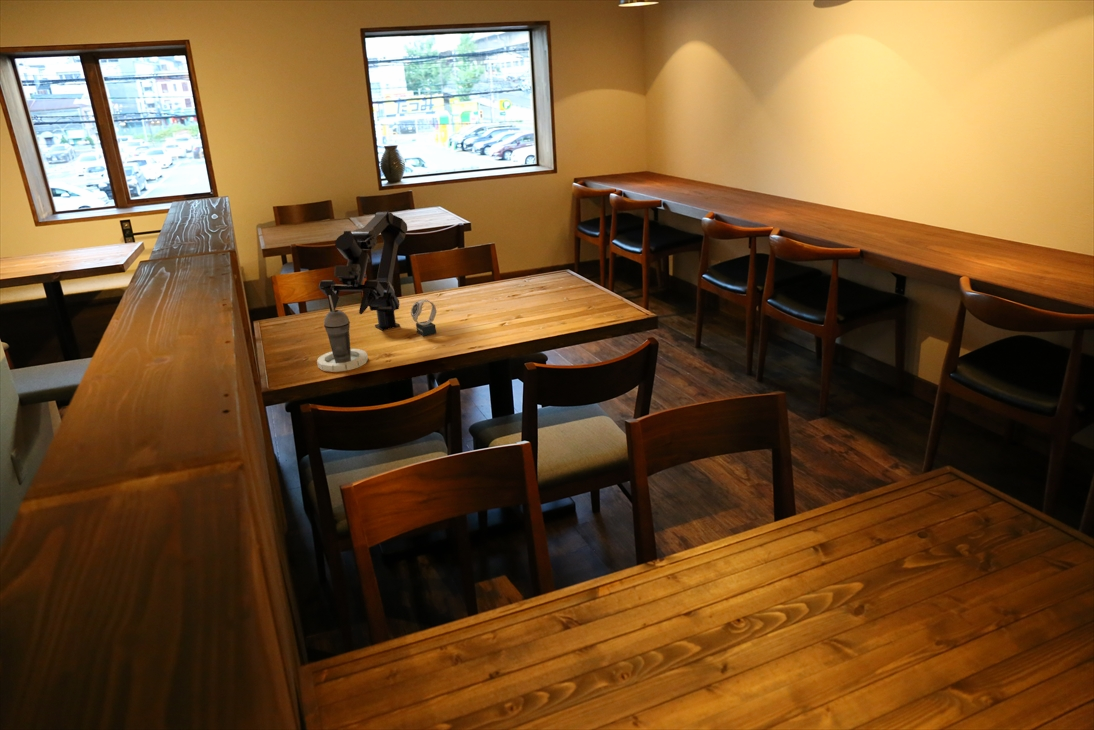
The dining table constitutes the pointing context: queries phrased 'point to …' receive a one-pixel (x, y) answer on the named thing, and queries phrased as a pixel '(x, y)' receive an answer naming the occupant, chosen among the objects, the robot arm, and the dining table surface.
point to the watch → (427, 326)
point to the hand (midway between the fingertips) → (345, 313)
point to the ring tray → (328, 363)
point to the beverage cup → (338, 334)
